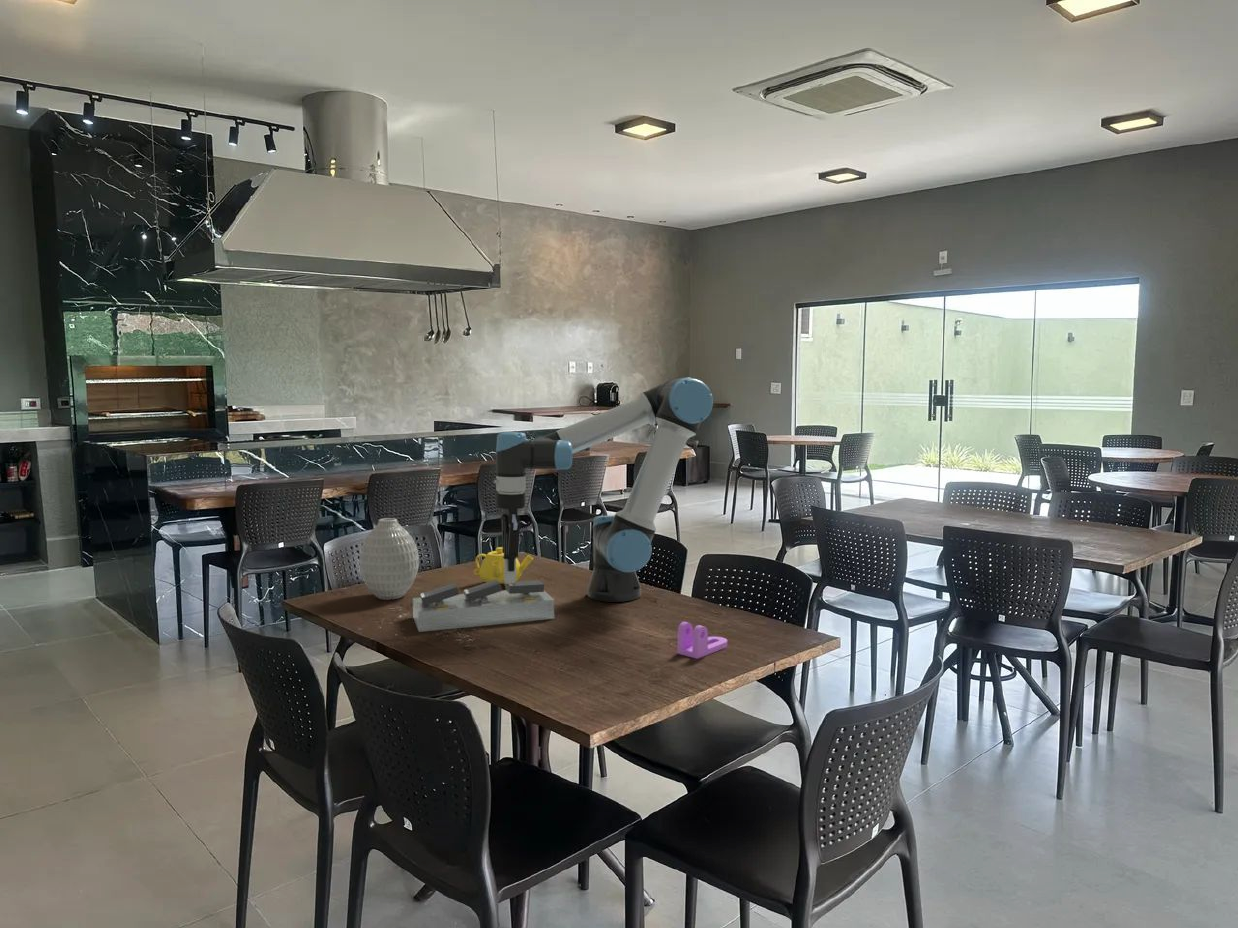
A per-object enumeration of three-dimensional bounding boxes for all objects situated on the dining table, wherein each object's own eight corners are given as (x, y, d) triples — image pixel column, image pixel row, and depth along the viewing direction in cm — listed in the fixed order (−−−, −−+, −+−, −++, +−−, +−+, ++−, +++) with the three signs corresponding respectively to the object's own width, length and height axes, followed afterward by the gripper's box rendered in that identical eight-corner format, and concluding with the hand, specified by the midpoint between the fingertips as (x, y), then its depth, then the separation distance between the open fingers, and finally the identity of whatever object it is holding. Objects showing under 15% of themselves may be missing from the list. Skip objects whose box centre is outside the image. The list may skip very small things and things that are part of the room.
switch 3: (539, 587, 227) (539, 579, 227) (543, 591, 222) (543, 583, 222) (505, 589, 224) (505, 581, 224) (509, 593, 219) (509, 585, 219)
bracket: (697, 659, 187) (697, 628, 186) (677, 653, 191) (677, 623, 190) (732, 645, 197) (732, 616, 196) (712, 640, 200) (712, 611, 200)
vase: (431, 594, 245) (429, 517, 243) (388, 607, 232) (385, 525, 229) (392, 587, 254) (389, 513, 252) (348, 599, 240) (345, 520, 238)
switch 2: (498, 586, 223) (496, 578, 223) (502, 590, 219) (500, 583, 218) (465, 597, 221) (463, 589, 220) (468, 602, 216) (466, 594, 216)
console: (541, 605, 232) (540, 584, 232) (554, 618, 219) (553, 596, 219) (413, 617, 221) (412, 595, 221) (418, 631, 208) (418, 609, 208)
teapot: (495, 592, 247) (495, 554, 246) (468, 584, 257) (468, 548, 256) (535, 584, 257) (534, 547, 256) (507, 577, 267) (507, 541, 266)
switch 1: (456, 589, 220) (454, 582, 220) (459, 594, 215) (456, 586, 215) (421, 601, 217) (419, 593, 217) (424, 605, 213) (421, 598, 212)
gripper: (491, 489, 225) (490, 578, 227) (501, 495, 212) (500, 589, 214) (519, 489, 227) (518, 576, 229) (530, 495, 215) (529, 587, 217)
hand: (509, 582), depth 222 cm, fingers closed
